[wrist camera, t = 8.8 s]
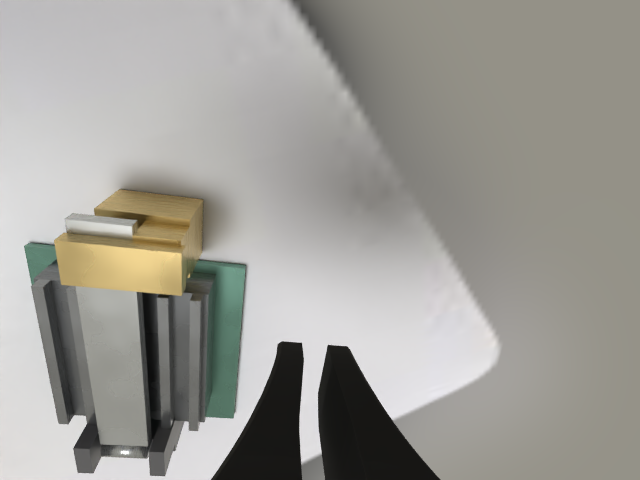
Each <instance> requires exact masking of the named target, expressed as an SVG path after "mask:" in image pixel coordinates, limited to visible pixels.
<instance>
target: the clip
mask: <svg viewBox="0 0 640 480" xmlns="http://www.w3.org/2000/svg"><path fill="white" fill-rule="evenodd" d="M94 213H95V216H103V217H112V218H121V219H130V220H137V222H138V230H137V231H136V232H135V233H134V234H133V235H132V238H133V240H129V239H120V238H110V237H101V236H92V235H82V234H73V233H63V234H62V235H60V236H59V237H58V238H56V239H55V240H54V243H55V249H56V256H57V262H58V268H59V274H60V280H61V285H68V286H79V287H90V288H101V289H112V290H123V291H134V292H145V293H156V294H167V295H178V296H182V294H183V292H184V290H185V288H186V279H187V278H190V277H191V274H192V272H193V270H194V268H195V266H196V264H197V262H198V260H199V258H200V256H201V253H202V231H203V199H196V198H187V197H179V196H171V195H162V194H154V193H146V192H137V191H129V190H121V189H119V190H118V191H116V192H115V193H114V194H113V195H111V196H110V197H109V198H107V199H106V200H105V201H103V202H102V203H101V204H99V205H98V206H97V207H96V208H94Z"/></svg>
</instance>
